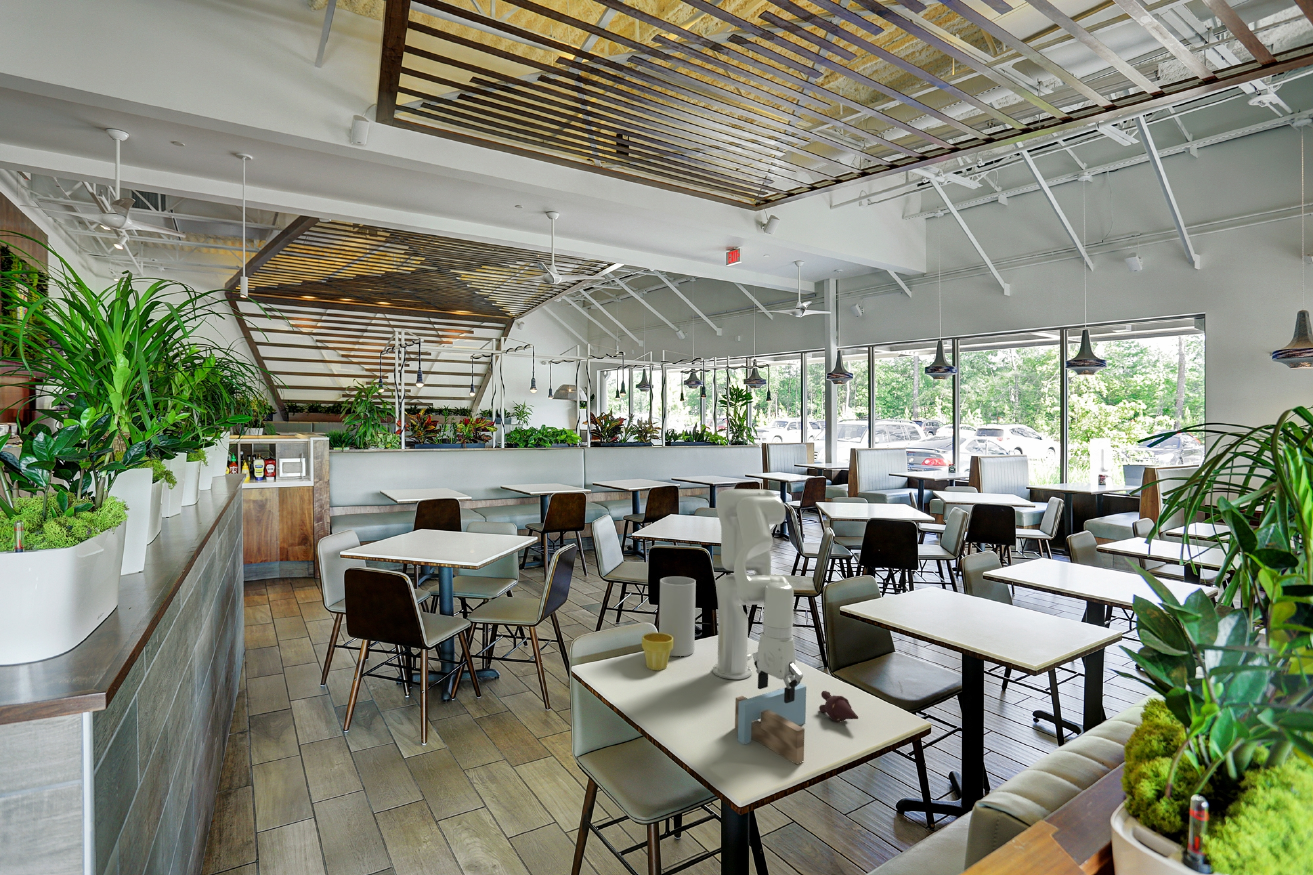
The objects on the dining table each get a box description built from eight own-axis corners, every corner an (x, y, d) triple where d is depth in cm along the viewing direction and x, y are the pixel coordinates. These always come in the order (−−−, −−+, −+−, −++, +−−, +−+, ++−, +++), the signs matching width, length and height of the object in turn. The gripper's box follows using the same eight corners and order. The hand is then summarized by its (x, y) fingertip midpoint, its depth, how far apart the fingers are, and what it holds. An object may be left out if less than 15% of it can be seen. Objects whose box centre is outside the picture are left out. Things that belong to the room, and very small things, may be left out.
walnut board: (734, 727, 172) (735, 697, 172) (741, 725, 173) (742, 695, 173) (796, 764, 154) (797, 731, 154) (803, 761, 155) (804, 728, 155)
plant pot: (675, 662, 218) (676, 633, 218) (669, 674, 208) (669, 643, 208) (645, 659, 220) (646, 630, 220) (637, 670, 210) (638, 640, 210)
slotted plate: (798, 719, 177) (799, 683, 177) (805, 723, 175) (806, 686, 175) (737, 740, 165) (738, 701, 165) (744, 744, 163) (745, 704, 163)
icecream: (870, 705, 172) (833, 689, 186) (849, 702, 170) (813, 686, 183) (866, 732, 171) (829, 714, 185) (844, 730, 168) (808, 711, 182)
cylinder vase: (671, 642, 237) (673, 574, 237) (700, 650, 230) (702, 580, 230) (651, 652, 227) (653, 581, 227) (681, 660, 220) (683, 587, 219)
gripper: (744, 623, 175) (742, 685, 176) (792, 643, 161) (789, 711, 162) (765, 619, 179) (763, 679, 180) (812, 638, 165) (810, 704, 166)
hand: (775, 694), depth 171 cm, fingers open, 9 cm apart
